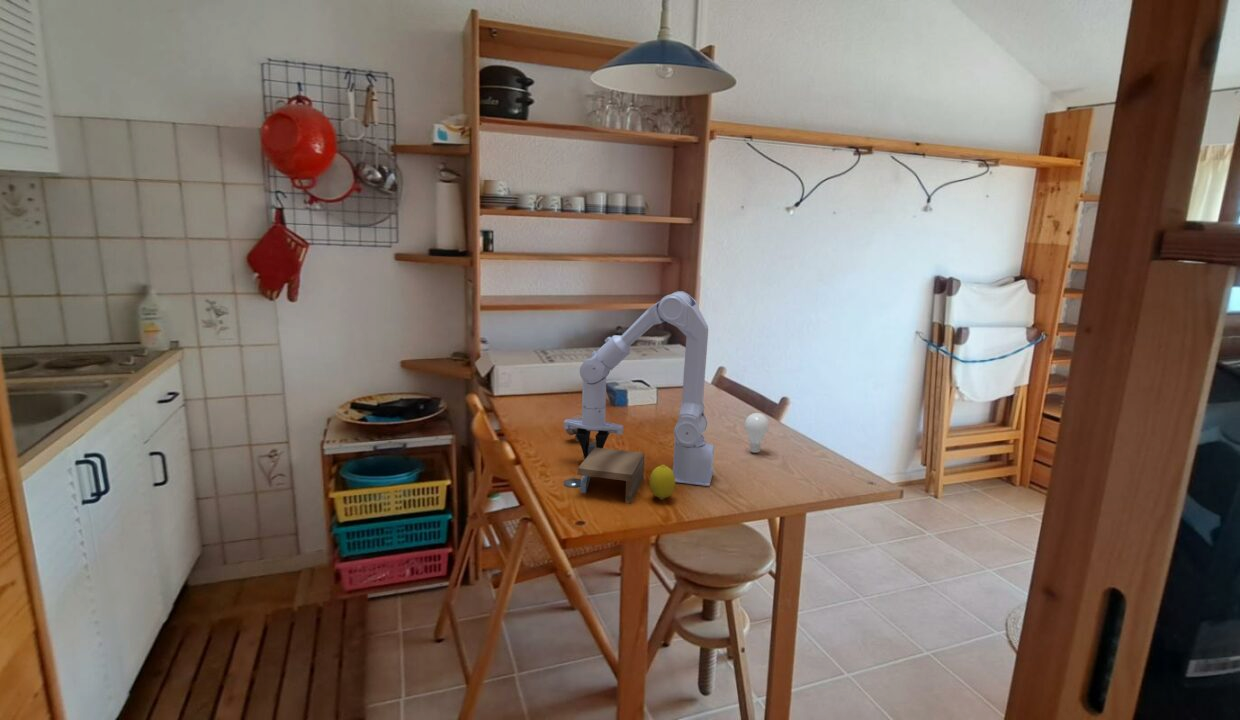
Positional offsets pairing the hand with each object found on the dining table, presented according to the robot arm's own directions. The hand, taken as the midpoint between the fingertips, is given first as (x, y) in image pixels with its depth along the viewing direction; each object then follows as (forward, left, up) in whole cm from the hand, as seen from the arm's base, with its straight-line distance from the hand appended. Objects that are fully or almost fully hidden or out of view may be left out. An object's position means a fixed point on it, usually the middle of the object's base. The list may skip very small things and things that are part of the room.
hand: (592, 458), depth 159 cm
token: (+1, +13, -2) cm, 13 cm away
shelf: (-8, +13, -1) cm, 15 cm away
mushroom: (+8, -15, -2) cm, 18 cm away
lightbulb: (-39, -21, -2) cm, 45 cm away
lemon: (-20, +16, -2) cm, 25 cm away
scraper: (-1, +8, -1) cm, 8 cm away
